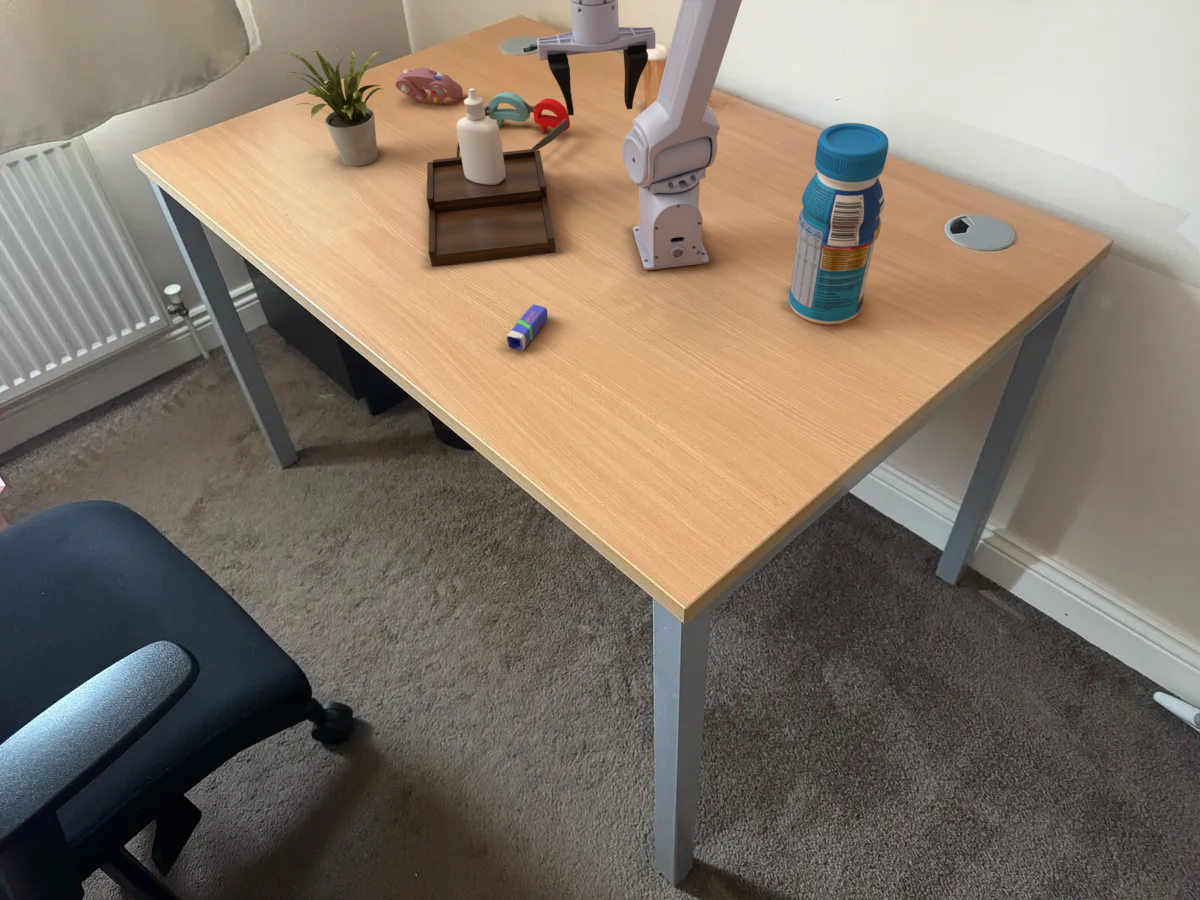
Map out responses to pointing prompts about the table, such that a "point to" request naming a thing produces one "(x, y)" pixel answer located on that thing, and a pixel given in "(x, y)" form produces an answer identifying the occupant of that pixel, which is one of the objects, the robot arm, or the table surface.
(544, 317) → the eraser
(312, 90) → the house plant
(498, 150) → the eye dropper bottle
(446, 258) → the step shelf
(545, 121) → the novelty glasses
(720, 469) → the table surface
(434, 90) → the video game controller
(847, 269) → the beverage bottle
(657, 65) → the frothy drink cup
